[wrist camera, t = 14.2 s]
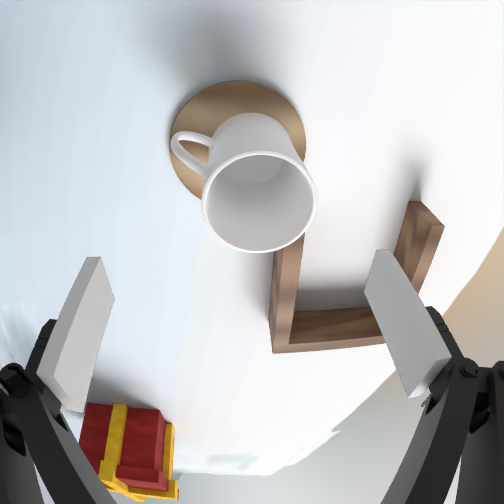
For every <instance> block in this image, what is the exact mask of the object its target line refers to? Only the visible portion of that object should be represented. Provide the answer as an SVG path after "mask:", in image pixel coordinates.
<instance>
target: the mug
mask: <svg viewBox="0 0 504 504" xmlns="http://www.w3.org/2000/svg"><path fill="white" fill-rule="evenodd" d="M178 140H189V141H194V142H198V143H201V144H204V145H206V146H208V147H209V162H208V164H207V163H204V162H202V161H201V160H199V159H197V158H196V157H194V156H193V155H191V154H190V153H189V152H188V151H186V150H185V149H184V148H183V147H182V146H181V144H180V143H179V141H178ZM170 144H171V148H172V151H173V152H174V154H175V155H176V156H177V157H178V158H179V159H180V160H181V161H182V162H183V163H184V164H186V165H187V166H188V167H190V168H191V169H193V170H194V171H196V172H197V173H199V174H200V175H202V176H203V177H204V178H205V182H204V187H203V192H202V201H201V206H202V213H203V217H204V220H205V222H206V224H207V226H208V228H209V229H210V231H211V232H212V233H213V235H214V236H215V237H216V238H217V239H219V240H220V241H221V242H223V243H224V244H226V245H227V246H229V247H231V248H234V249H236V250H239V251H243V252H249V253H265V252H271V251H275V250H278V249H281V248H283V247H286V246H288V245H289V244H291V243H293V242H294V241H295V240H297V239H298V238H299V237H300V236H301V235H302V234H303V233H304V232H305V231H306V230H307V228H308V227H309V225H310V224H311V222H312V220H313V217H314V215H315V211H316V206H317V193H316V188H315V185H314V182H313V180H312V178H311V176H310V174H309V172H308V171H307V169H306V167H305V166H304V164H303V162H302V160H301V159H300V157H299V155H298V154H297V152H296V150H295V149H294V147H293V145H292V142H291V139H290V136H289V134H288V133H287V131H286V130H285V128H284V127H283V126H282V125H281V124H280V123H279V122H278V121H276V120H275V119H273V118H271V117H269V116H267V115H264V114H260V113H242V114H238V115H235V116H233V117H231V118H229V119H227V120H226V121H225V122H223V123H222V124H221V125H220V126H219V127H218V128H217V129H216V131H215V132H214V134H213V136H212V138H211V137H208V136H205V135H202V134H199V133H195V132H189V131H181V132H177V133H176V134H174V136H173V137H172V139H171V143H170Z"/></svg>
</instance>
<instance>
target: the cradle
mask: <svg viewBox="0 0 504 504" xmlns="http://www.w3.org/2000/svg"><path fill="white" fill-rule="evenodd" d="M444 227H445V226H444V225H443V224H442V223H441V222H440V221H439V220H438V219H437V218H436V216H435V215H434V214H433V213H432V212H431V211H430V210H429V209H428V208H427V207H426V206H425V205H424V204H423V203H422V202H414V201H409V204H408V207H407V211H406V215H405V218H404V222H403V226H402V229H401V232H400V236H399V239H398V243H397V246H396V249H395V252H394V257H395V258H396V260H397V261H398V263H399V265H400V266H401V268H402V269H403V271H404V273H405V274H406V276H407V277H408V279H409V281H410V282H411V284H412V286H413V287H414V289H415V291H416V292H417V294H418V293H419V291H420V289H421V287H422V284H423V282H424V279H425V277H426V275H427V272H428V270H429V267H430V265H431V262H432V260H433V257H434V254H435V252H436V249H437V246H438V244H439V241H440V238H441V235H442V233H443V230H444ZM304 236H305V232H304V233H303V234H302V235H301V236H300V237H299V238H298V239H297V240H295V241H294V242H293V243H291V244H289V245H288V246H286V247H283V248H281V249H278V250H275V251H274V261H273V275H272V288H271V300H270V313H269V328H270V336H271V344H272V352H273V354H275V353H293V352H307V351H320V350H331V349H341V348H351V347H360V346H368V345H376V344H384V343H386V342H385V339H384V337H383V335H382V332H381V330H380V328H379V325H378V323H377V321H376V318H375V316H374V314H373V311H372V309H371V307H364V308H351V309H337V310H321V311H302V312H294V307H295V300H296V294H297V287H298V280H299V273H300V266H301V259H302V251H303V244H304Z"/></svg>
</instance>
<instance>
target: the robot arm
mask: <svg viewBox="0 0 504 504" xmlns="http://www.w3.org/2000/svg"><path fill="white" fill-rule="evenodd" d="M364 294H365V296H366V298H367V300H368V302H369V305H370V307H371V309H372V311H373V314H374V316H375V318H376V321H377V323H378V325H379V328H380V330H381V332H382V335H383V337H384V339H385V342H386V344H387V347H388V349H389V351H390V354H391V356H392V359H393V361H394V364H395V366H396V369H397V371H398V374H399V376H400V379H401V382H402V384H403V387H404V390H405V393H406V395H407V398H412V397H416V396H419V395H422V394H423V393H424V392H425V391H426V390H427V388H428V387H429V390H430V392H431V394H430V395H429V397H427V398H426V400H425V401H424V402H423V403H422V405H421V407H423V406H424V405H425V404H426V405H425V408H424V410H423V413H422V416H421V418H420V421H419V424H418V426H417V429H416V431H415V434H414V436H413V438H412V441H411V443H410V446H409V448H408V450H407V452H406V455H405V457H404V459H403V461H402V463H401V465H400V467H399V470H398V472H397V474H396V476H395V478H394V480H393V482H392V484H391V485H390V487H389V489H388V491H387V493H386V495H385V497H384V499H383V501H382V502H381V504H443V503H444V501H445V499H446V496H447V493H448V491H449V488H450V486H451V483H452V481H453V478H454V475H455V472H456V469H457V466H458V463H459V461H460V457H461V466H460V474H459V482H458V489H457V495H456V502H455V504H504V361H498V362H497V363H495V365H494V366H493V367H492V368H486V367H478V365H477V364H476V363H475V362H474V361H473V360H471V359H469V358H464V356H463V355H462V353H461V351H460V349H459V347H458V345H457V343H456V342H455V340H454V338H453V336H452V334H451V333H450V332H449V329H448V327H447V325H446V324H445V322H444V320H443V318H442V317H441V315H440V313H439V312H437V311H436V310H435V309H434V308H433V307H432V306H429V307H425V306H424V304H423V303H422V301H421V299H420V297H419V296H418V294H417V292H416V291H415V289H414V287H413V286H412V284H411V282H410V281H409V279H408V277H407V276H406V274H405V273H404V271H403V269H402V268H401V266H400V265H399V263H398V261H397V260H396V258H395V257H394V255H393V254H392V252H391V251H390V249H389V250H376V253H375V257H374V260H373V263H372V267H371V270H370V273H369V276H368V280H367V283H366V286H365V289H364ZM114 300H115V298H114V296H113V293H112V290H111V287H110V284H109V281H108V278H107V275H106V272H105V269H104V265H103V262H102V259H101V257H87V258H86V260H85V262H84V264H83V266H82V268H81V270H80V272H79V274H78V276H77V278H76V280H75V282H74V284H73V286H72V288H71V290H70V292H69V295H68V297H67V299H66V301H65V303H64V306H63V308H62V310H61V312H60V315H59V317H58V319H57V320H55V319H49V320H48V322H47V323H46V324H45V325H44V326H43V327H42V329H41V331H40V334H39V336H38V339H37V341H36V343H35V347H34V348H33V351H32V353H31V356H30V358H29V361H28V363H27V366H26V368H25V370H24V369H23V367H22V366H21V365H19V364H17V363H10V364H7V365H6V366H5V367H3V368H2V370H1V371H0V387H1V388H0V504H44V501H43V498H42V494H41V491H40V487H39V484H38V480H37V475H36V471H35V467H34V464H35V466H36V468H37V470H38V472H39V474H40V476H41V478H42V480H43V482H44V484H45V486H46V488H47V490H48V491H49V494H50V496H51V497H52V499H53V501H54V503H55V504H117V503H116V502H115V500H114V499H113V498H112V496H111V495H110V493H109V492H108V490H107V489H106V488H105V486H104V485H103V483H102V482H101V480H100V479H99V477H98V475H97V474H96V472H95V471H94V469H93V468H92V466H91V464H90V463H89V461H88V460H87V458H86V456H85V454H84V453H83V451H82V449H81V448H80V446H79V444H78V442H77V441H76V439H75V437H74V435H73V433H72V431H71V429H70V428H69V426H68V424H67V422H66V420H65V418H64V416H63V414H62V413H61V411H60V408H61V404H62V405H63V406H64V407H65V408H66V409H67V410H69V411H75V412H81V413H83V412H84V408H85V403H86V399H87V395H88V390H89V386H90V382H91V378H92V374H93V370H94V367H95V363H96V359H97V356H98V352H99V349H100V345H101V342H102V338H103V335H104V331H105V328H106V325H107V322H108V318H109V315H110V312H111V309H112V306H113V303H114ZM461 454H462V456H461ZM33 461H34V462H33Z"/></svg>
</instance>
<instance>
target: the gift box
mask: <svg viewBox="0 0 504 504" xmlns="http://www.w3.org/2000/svg"><path fill="white" fill-rule="evenodd" d="M174 429H175V428H174V426H173V424H172V423H166V422H165V420H164V418H163V416H162V414H161V412H160V410H151V409H138V408H128V407H127V405H125V404H116V403H114V405H113V406H110V405H102V404H95V403H87V407H86V412H85V416H84V420H83V425H82V429H81V434H80V439H79V446H80V448H81V449H82V451H83V453H84V454H85V456H86V458H87V460H88V461H89V463H90V464H91V466H92V468H93V469H94V471H95V472H96V474H97V475H98V477H99V479H100V480H101V482H102V483H103V485H104V486H105V488H106V489H107V490H108V491H113V492H119V493H122V494H124V495H125V496H127V497H129V498H131V499H133V500H135V501H142V502H145V497H153V498H161V499H172V500H178V493H179V490H178V482H177V481H176V480H172V468H173V450H174Z"/></svg>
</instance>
